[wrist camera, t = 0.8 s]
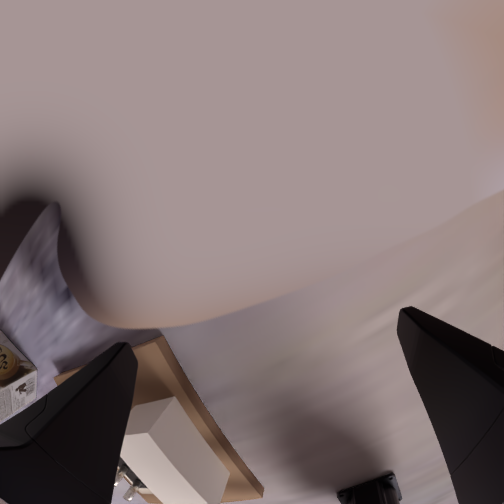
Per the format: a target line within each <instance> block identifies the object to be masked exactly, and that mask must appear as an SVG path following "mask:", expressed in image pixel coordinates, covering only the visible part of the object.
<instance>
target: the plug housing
mask: <svg viewBox="0 0 504 504" xmlns="http://www.w3.org/2000/svg"><path fill="white" fill-rule="evenodd" d="M120 457H121V458H122V459H123V460H124V461H125V463H126V464H127V465H128V466H129V467H130V469H131V470H132V471H133V472H134V473H135V474H136V476H137V477H138V478H139V479H140V480H141V481H142V482H143V483H144V484H145V485H146V486H147V488H148V489H149V490H150V491H151V492H152V493H153V494H154V495H155V496H156V497H157V498H158V499H159V500H160V501H161V502H162V503H163V504H220V502H221V499H222V496H223V493H224V490H225V487H226V484H227V481H228V478H229V475H230V472H229V471H228V470H227V468H226V467H225V466H224V465H223V463H222V462H221V461H220V459H219V458H218V457H217V456H216V454H215V453H214V452H213V450H212V449H211V448H210V446H209V445H208V444H207V442H206V441H205V440H204V438H203V437H202V435H201V434H200V433H199V431H198V430H197V428H196V427H195V425H194V424H193V423H192V421H191V420H190V418H189V417H188V415H187V414H186V412H185V411H184V409H183V408H182V406H181V405H180V403H179V402H178V400H177V398H176V397H175V396H174V397H170V398H166V399H162V400H158V401H154V402H149V403H145V404H140V405H136V406H135V407H134V408H133V409H132V410H131V411H130V415H129V419H128V423H127V427H126V432H125V436H124V440H123V445H122V449H121V454H120Z"/></svg>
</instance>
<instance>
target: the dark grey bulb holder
mask: <svg viewBox="0 0 504 504" xmlns="http://www.w3.org/2000/svg"><path fill="white" fill-rule="evenodd" d="M118 466H119V469H118V471H117V474H116V479H115V484H114V487H116V486H117V485H118V483H119V482H120V481H121V479H122V478H123V477H124V475H126V476H127V477H128V478H129V479H130V480H131V481H132V482H133V483H132V485H131V486H130V488H129V489H128V491H127V492H126V493H125V495H124V496H123V498H124V499H125V500H127V501H131V500H132V498H133V497H134V495H135V494H136V492H137V491H138V489H139V488H147V486H146V485H145V484H144V483H143V482H142V481H141V480H140V479H139V478H138V477H137V476H136V474H135V473H134V472H133V471H132V470H131V469H130V467H129V466H128V465H127V464H126V463H125V461H124V460H123V459H122V458H121V457H120V459H119V464H118Z"/></svg>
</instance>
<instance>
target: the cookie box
mask: <svg viewBox="0 0 504 504" xmlns="http://www.w3.org/2000/svg"><path fill="white" fill-rule="evenodd" d="M36 388H37V368H36V367H35V366H34V365H33V364H32V363H31V362H30V361H29V360H28V359H27V358H26V357H25V356H24V355H23V354H22V353H21V352H20V351H19V350H18V349H17V348H16V347H15V346H14V345H13V344H12V342H11V341H10V340H9V339H8V338H7V337H6V336H5V335H4V334H3V332H2V331H1V330H0V422H1V421H3V420H4V419H6V418H7V417H9V416H10V415H12V414H13V413H15V412H16V411H18V410H19V409H21V408H22V407H24V406H25V405H27V404H28V403H30V402H31V401H33V400H34V399H36Z"/></svg>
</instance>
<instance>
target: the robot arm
mask: <svg viewBox="0 0 504 504" xmlns="http://www.w3.org/2000/svg"><path fill="white" fill-rule="evenodd" d="M397 335H398V338H399V341H400V344H401V347H402V350H403V353H404V356H405V359H406V362H407V365H408V368H409V371H410V373H411V376H412V378H413V380H414V383H415V385H416V387H417V389H418V392H419V394H420V396H421V399H422V401H423V403H424V406H425V408H426V411H427V413H428V416H429V418H430V421H431V423H432V426H433V428H434V431H435V433H436V436H437V439H438V441H439V444H440V447H441V450H442V452H443V455H444V458H445V461H446V464H447V467H448V470H449V473H450V475H451V479H452V483H453V486H454V489H455V492H456V496H457V499H458V503H459V504H504V351H503V350H501V349H499V348H497V347H495V346H491V344H489V343H487V342H485V341H483V340H481V339H479V338H477V337H475V336H472V335H470V334H468V333H466V332H464V331H462V330H460V329H458V328H456V327H454V326H452V325H450V324H448V323H446V322H444V321H442V320H440V319H438V318H436V317H434V316H431V315H429V314H427V313H425V312H423V311H421V310H419V309H417V308H415V307H412V306H409V307H405V308H402V309H400V311H399V317H398V324H397ZM137 370H138V360H137V358H136V356H135V354H134V352H133V350H132V348H131V346H130V344H129V343H127V342H118V343H116V344H114V345H113V346H112V347H110V348H109V349H107V350H106V351H105V352H103V353H102V354H101V355H99V356H98V357H96V358H95V359H94V360H92V361H91V362H90V363H88V364H87V365H85V366H84V367H83V368H81V369H80V370H79V371H77V372H76V373H75V374H73V375H72V376H70V377H69V378H68V379H66V380H65V381H64V382H62V383H61V384H60V385H58V386H57V387H56V388H54V389H53V390H51V391H50V392H49V393H48V394H46V395H45V396H43V397H42V398H41V399H39V400H38V401H36V402H35V403H33V404H32V405H31V406H29V407H28V408H26V409H25V410H23V411H21V412H20V413H18V414H17V415H15V416H13V417H12V418H10V419H9V420H7V421H5V422H4V423H2V424H1V425H0V504H111V501H112V495H113V490H114V484H115V479H116V474H117V468H118V464H119V459H120V454H121V449H122V445H123V440H124V436H125V432H126V427H127V423H128V419H129V415H130V411H131V407H132V402H133V397H134V390H135V383H136V377H137ZM337 498H338V499H339V501H340V502H341V504H400V503H399V501H400V500H402V496H401V493H400V490H399V486H398V483H397V480H396V477H395V474H393V473H391V474H388V475H386V476H383V477H381V478H378V479H376V480H373V481H370V482H367V483H364V484H362V485H359V486H356V487H353V488H349V489H346V490H343V491H340V492H338V493H337Z"/></svg>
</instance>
